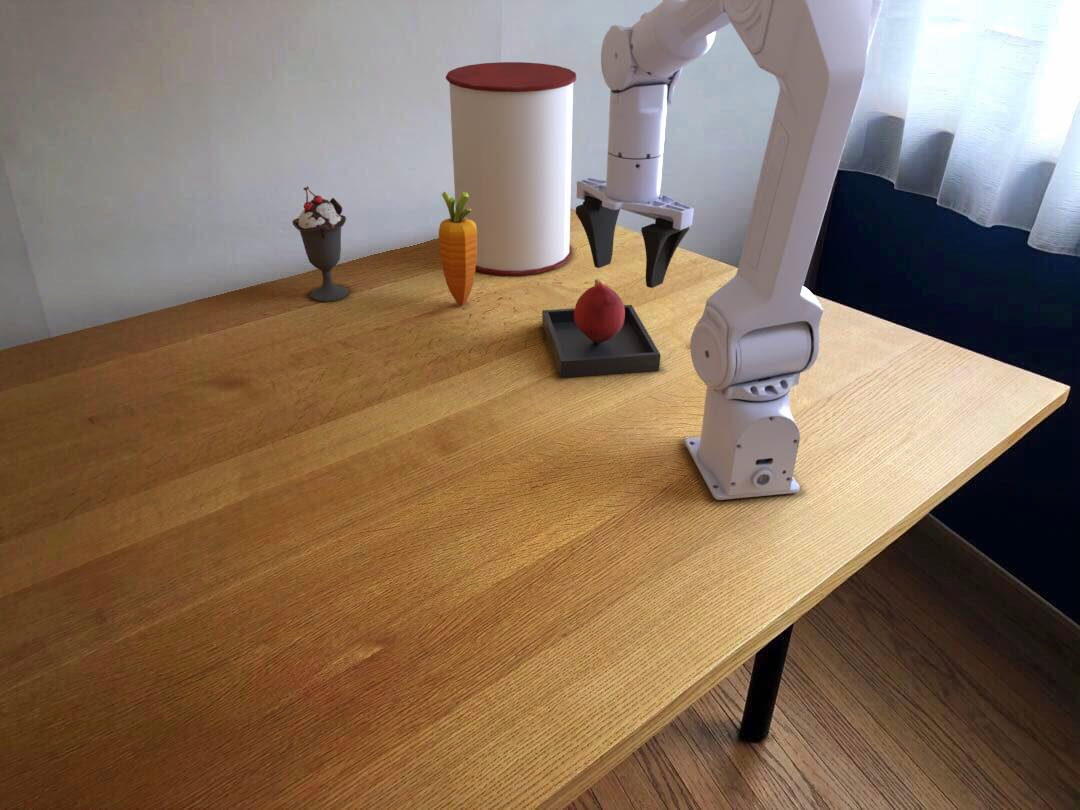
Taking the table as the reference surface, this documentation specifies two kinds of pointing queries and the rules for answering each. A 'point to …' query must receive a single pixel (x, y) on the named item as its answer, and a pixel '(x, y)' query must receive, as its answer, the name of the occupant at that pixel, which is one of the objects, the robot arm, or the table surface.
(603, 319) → the onion
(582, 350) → the tray
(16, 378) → the table surface
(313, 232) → the sundae
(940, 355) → the table surface
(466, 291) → the carrot
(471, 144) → the container
